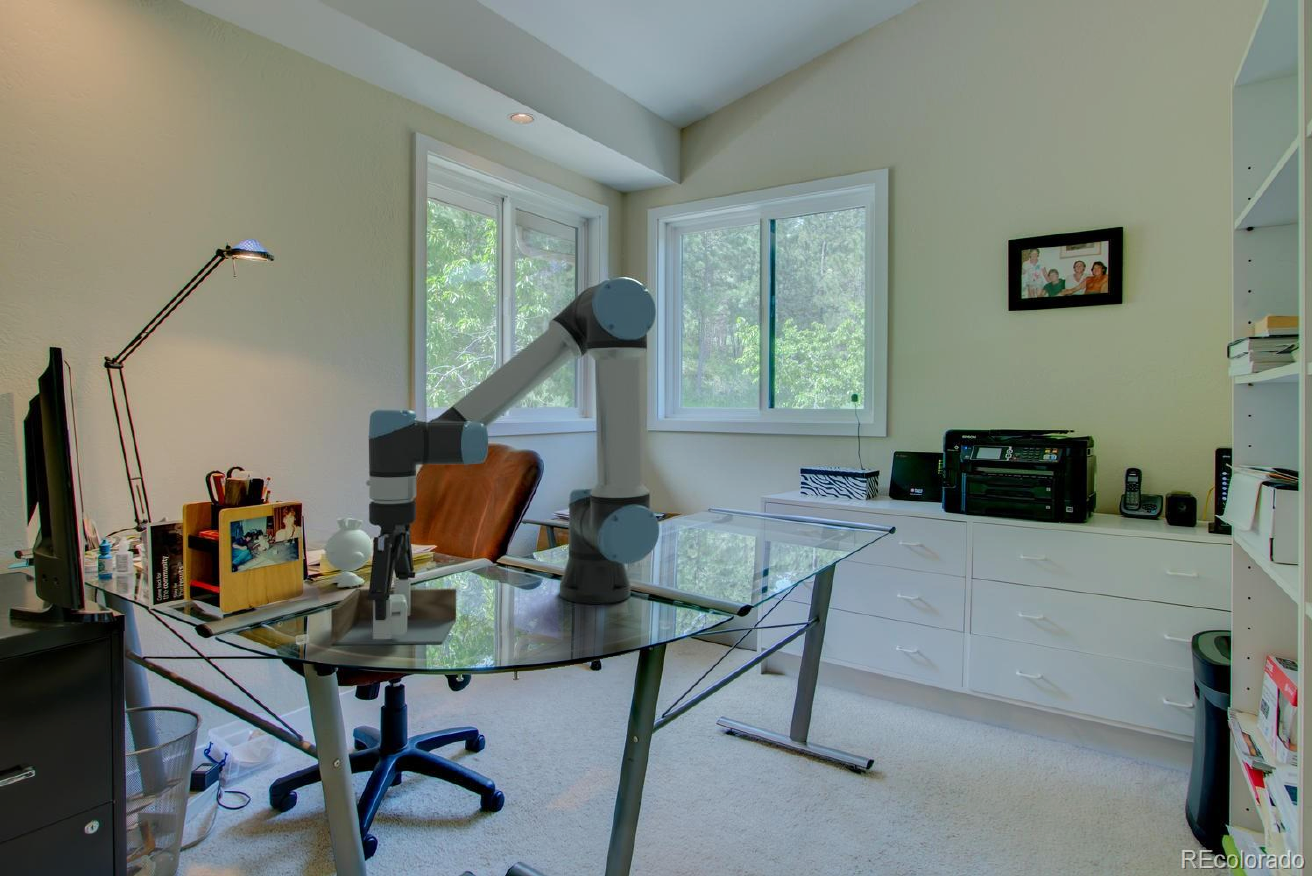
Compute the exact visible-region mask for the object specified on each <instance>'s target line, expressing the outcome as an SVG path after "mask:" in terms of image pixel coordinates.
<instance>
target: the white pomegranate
mask: <svg viewBox="0 0 1312 876" xmlns="http://www.w3.org/2000/svg"><path fill="white" fill-rule="evenodd" d="M336 521H337V524H338V527H339V528H340V529H339V530H337V531H336V532H334V533H333V534H332V535H331V536H330V537H329V538H328V540H327V542H326V544H325V545H324V546H323V551H325V553H324V554H325V558H326V560H327V562H328V563H329V564H330V565H331V566H332V567H333V568H334V569H336V570H339V571H341V572H340V573H339V574H337V575H336V576H334V577H333V578H332V579H331V583H332V582H334V583H335V582H339V583H338V584H337V587H338V586H356V585H359V584H362V583H364V582H366V581H365V580H364V579H363V578H361V577H360V576H358V575H357V574H355V573H354V571H357V570H359V569H361V568H362V567H364V566H365V565H366V564H367V562H368V561H369V560H370V559H371V557H372V555H373V541H372V540H371V538H370V536H369V535H368V534H367V533H366V532H365V531H364V530H361V528H362V525H363V523H364V521H363V520H361V519H356V518H352V517H351V518H350V517H348V518H346V519H345V520H344V518H342V517H338V518H337V519H336ZM352 572H353V573H352Z"/></svg>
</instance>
